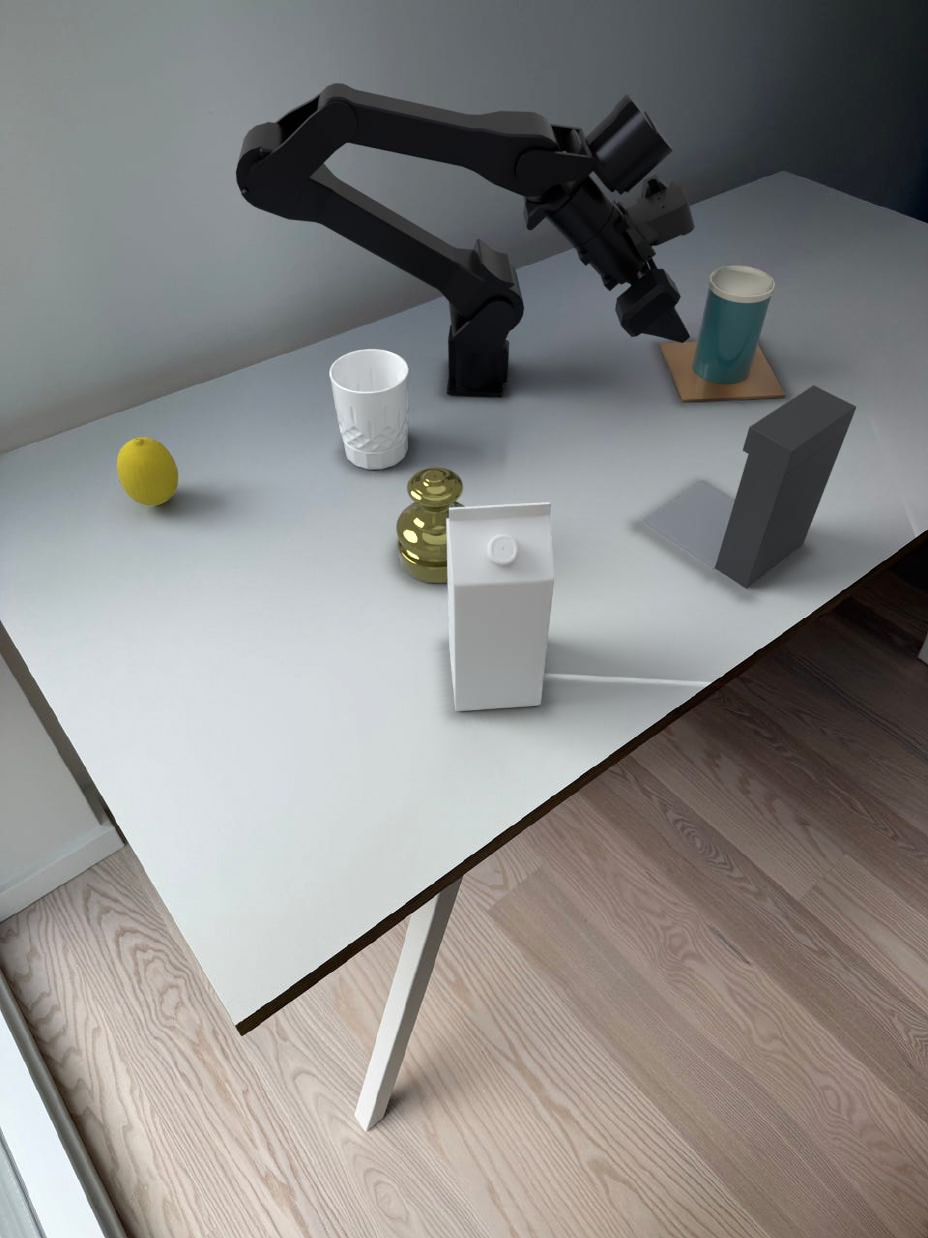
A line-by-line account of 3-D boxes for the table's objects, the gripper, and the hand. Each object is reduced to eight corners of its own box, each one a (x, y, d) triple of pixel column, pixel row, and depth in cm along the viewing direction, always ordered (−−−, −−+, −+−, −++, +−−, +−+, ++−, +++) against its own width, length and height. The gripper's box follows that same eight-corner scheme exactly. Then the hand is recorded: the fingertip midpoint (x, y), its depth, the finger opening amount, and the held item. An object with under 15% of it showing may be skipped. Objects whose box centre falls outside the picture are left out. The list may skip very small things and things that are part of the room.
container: (732, 391, 103) (755, 303, 95) (680, 369, 106) (698, 282, 98) (761, 366, 107) (786, 278, 98) (710, 345, 110) (730, 258, 101)
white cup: (402, 478, 93) (397, 396, 86) (330, 468, 94) (319, 387, 87) (420, 433, 98) (416, 353, 91) (351, 425, 99) (342, 344, 92)
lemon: (196, 492, 92) (177, 428, 86) (167, 527, 88) (145, 462, 82) (149, 481, 93) (128, 417, 87) (119, 514, 89) (94, 450, 84)
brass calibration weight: (419, 595, 82) (414, 513, 75) (386, 546, 86) (378, 464, 79) (489, 569, 84) (492, 487, 77) (454, 522, 89) (452, 440, 81)
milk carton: (448, 646, 78) (445, 475, 64) (529, 641, 78) (543, 470, 64) (455, 712, 73) (452, 544, 59) (541, 706, 74) (559, 537, 59)
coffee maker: (639, 527, 88) (668, 384, 76) (701, 485, 92) (737, 344, 80) (742, 596, 82) (790, 452, 70) (803, 548, 86) (859, 404, 74)
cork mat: (682, 402, 102) (683, 399, 102) (659, 345, 110) (660, 342, 110) (784, 397, 103) (785, 394, 103) (754, 341, 111) (755, 339, 111)
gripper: (676, 204, 82) (763, 312, 91) (636, 128, 94) (715, 229, 103) (582, 288, 87) (673, 381, 96) (555, 205, 100) (638, 294, 109)
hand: (676, 317), depth 101 cm, fingers open, 9 cm apart
